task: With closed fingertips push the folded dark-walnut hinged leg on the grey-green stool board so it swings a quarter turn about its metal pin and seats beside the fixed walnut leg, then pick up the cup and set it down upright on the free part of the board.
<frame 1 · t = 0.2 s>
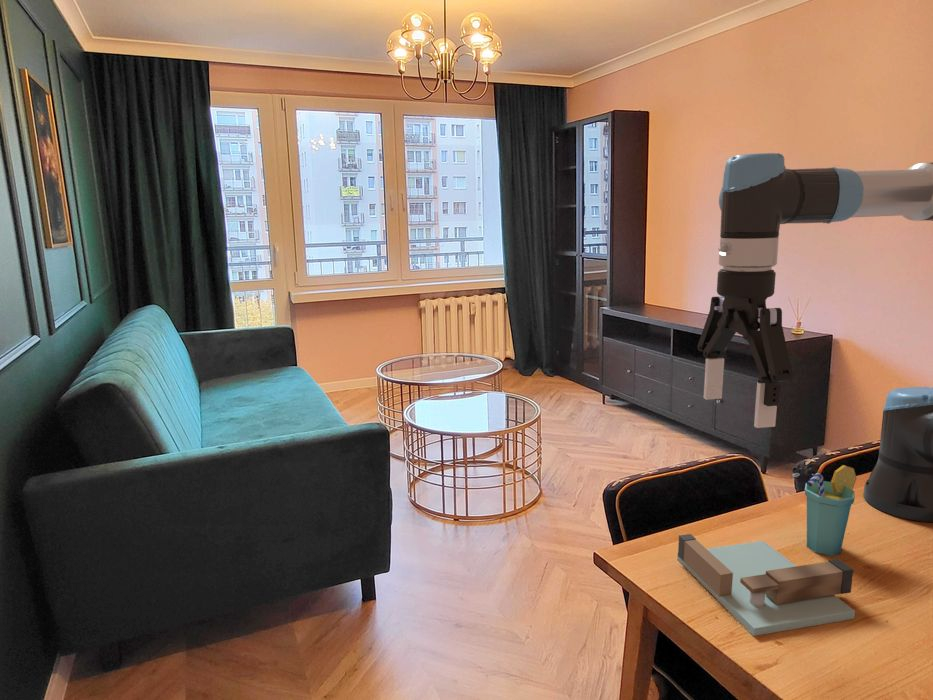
hand: (736, 411, 93), 28 cm above the table, fingers open, 13 cm apart
stool seat: (758, 586, 97), on the table
leg: (795, 582, 92), point 3 cm above the table, hinge at 0.0°
cup: (820, 550, 107), on the table
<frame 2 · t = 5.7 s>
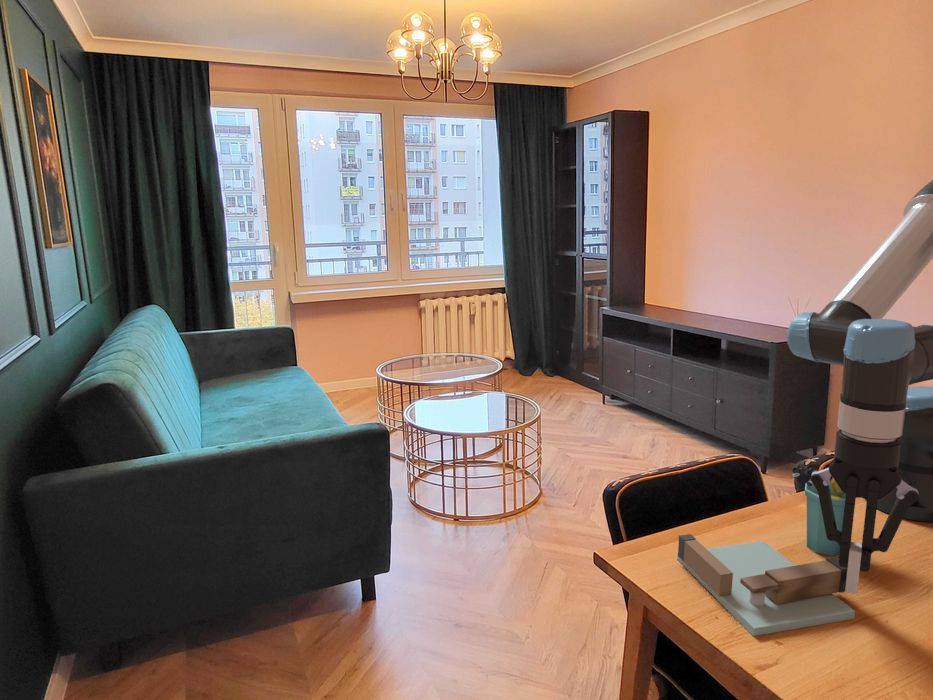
hand: (851, 587, 91), 3 cm above the table, fingers closed
leg: (794, 582, 92), point 3 cm above the table, hinge at 1.7°, touching gripper
everything else where it was.
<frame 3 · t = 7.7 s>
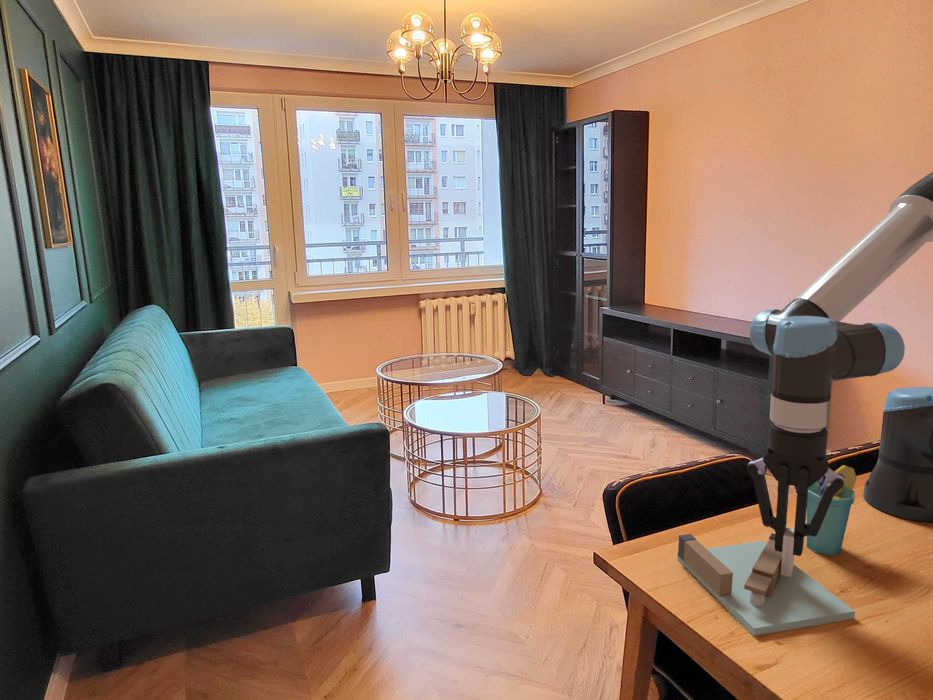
hand: (786, 571, 96), 3 cm above the table, fingers closed
leg: (768, 569, 96), point 3 cm above the table, hinge at 40.6°, touching gripper
everything else where it was.
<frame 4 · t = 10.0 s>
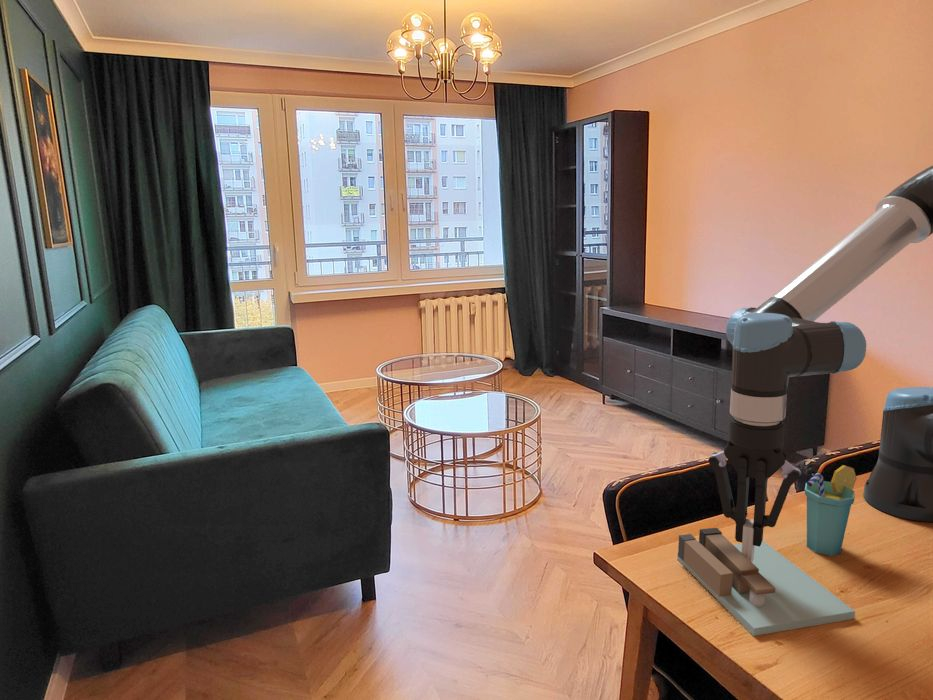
hand: (747, 561, 98), 3 cm above the table, fingers closed
leg: (734, 565, 97), point 3 cm above the table, hinge at 86.1°, touching gripper
everything else where it was.
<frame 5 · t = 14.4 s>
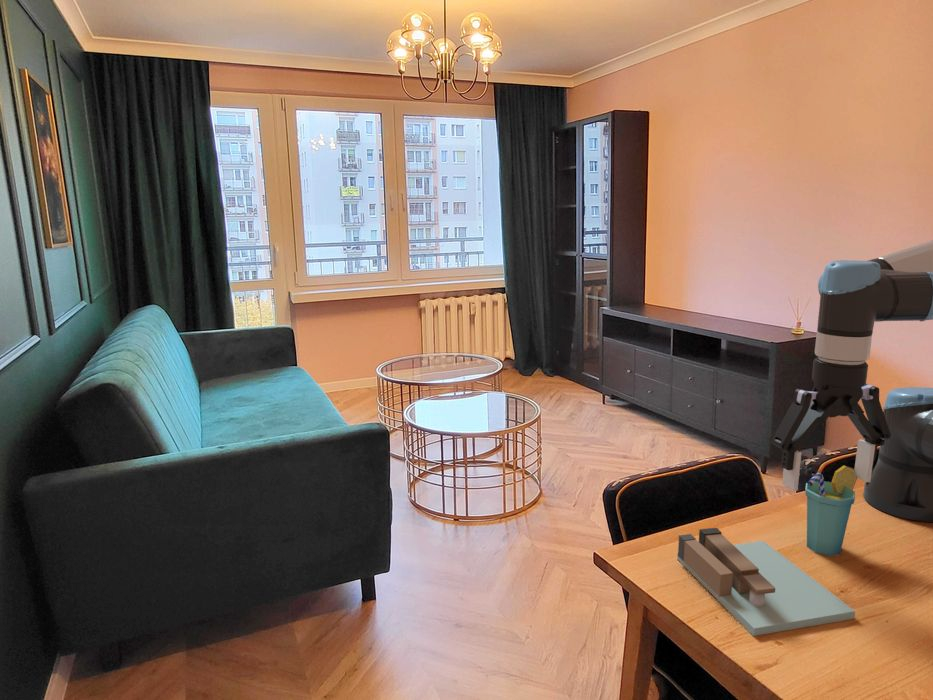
hand: (826, 483, 104), 12 cm above the table, fingers open, 13 cm apart
leg: (734, 565, 97), point 3 cm above the table, hinge at 86.2°
cup: (820, 550, 107), on the table, touching gripper
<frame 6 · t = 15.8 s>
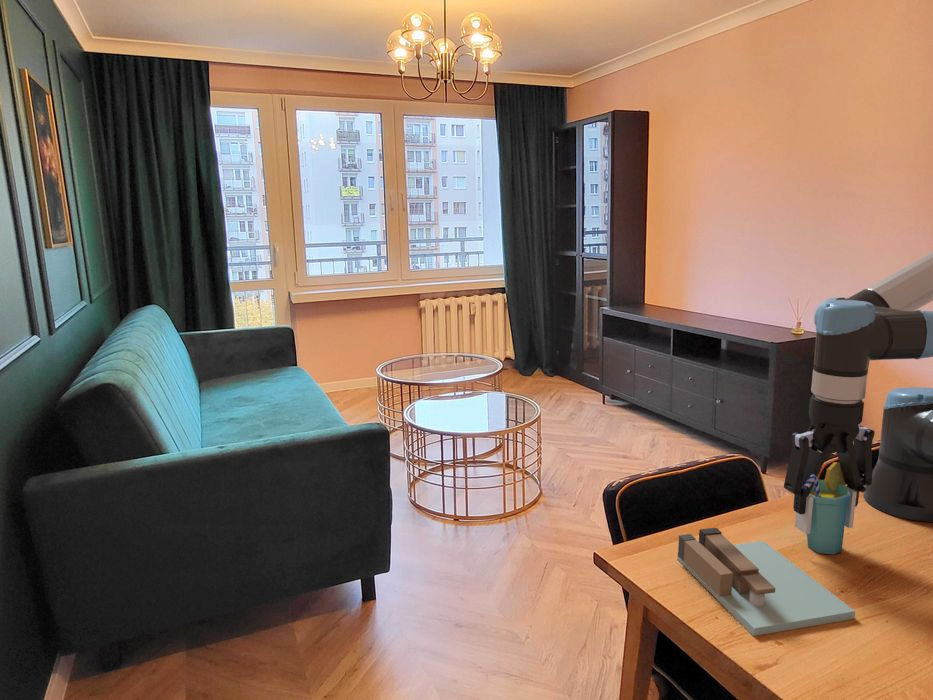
hand: (823, 526, 106), 4 cm above the table, fingers closed on cup, 7 cm apart
cup: (822, 549, 107), on the table, touching gripper
everything else where it was.
when the fingers open (7 cm above the table, at t = 21.1 s): cup drops 2 cm, resting on stool seat.
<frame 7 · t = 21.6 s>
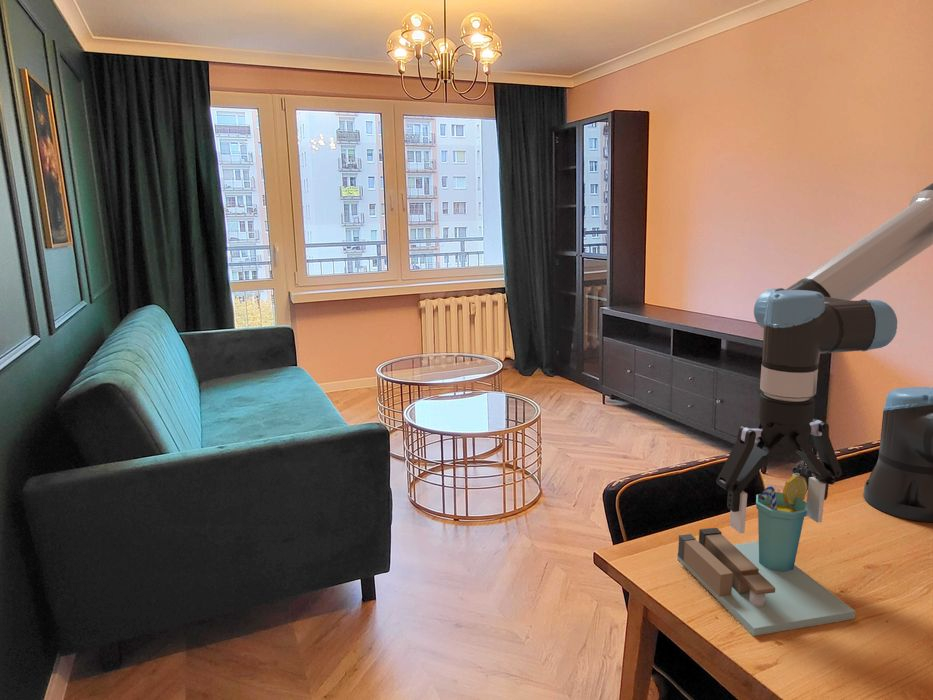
hand: (775, 523, 99), 8 cm above the table, fingers open, 13 cm apart
cup: (773, 566, 101), point 1 cm above the table, touching stool seat
everything else where it was.
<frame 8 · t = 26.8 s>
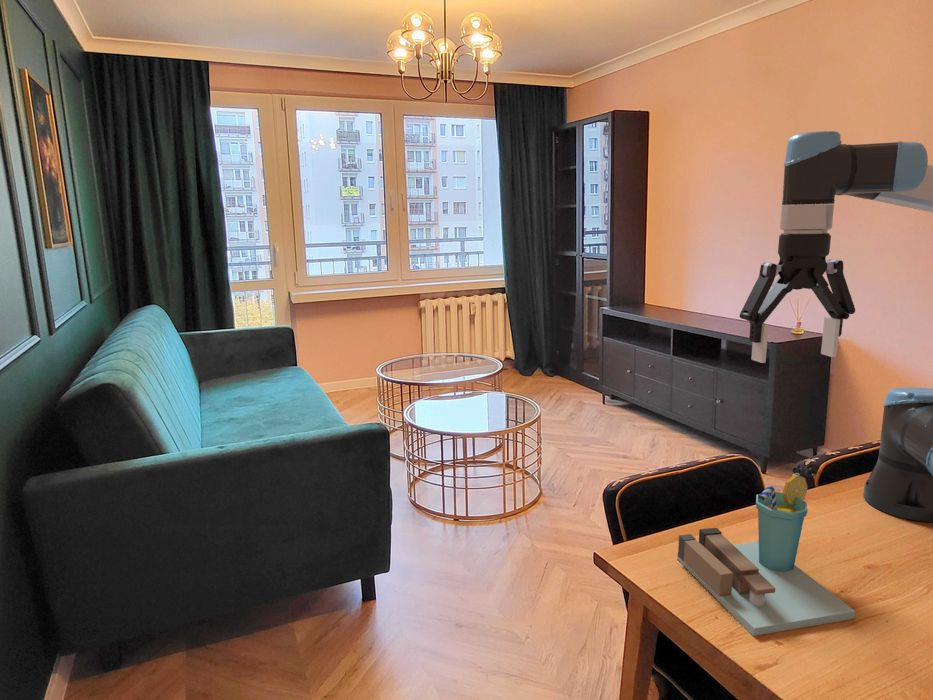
hand: (793, 358, 107), 32 cm above the table, fingers open, 13 cm apart
nothing on the table moved.
at the end: leg at +86° (first picture: +0°); cup inside the target area (0.8 cm from its centre), point 1.0 cm above the table; cup tilted 0°; the gripper is holding nothing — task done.
